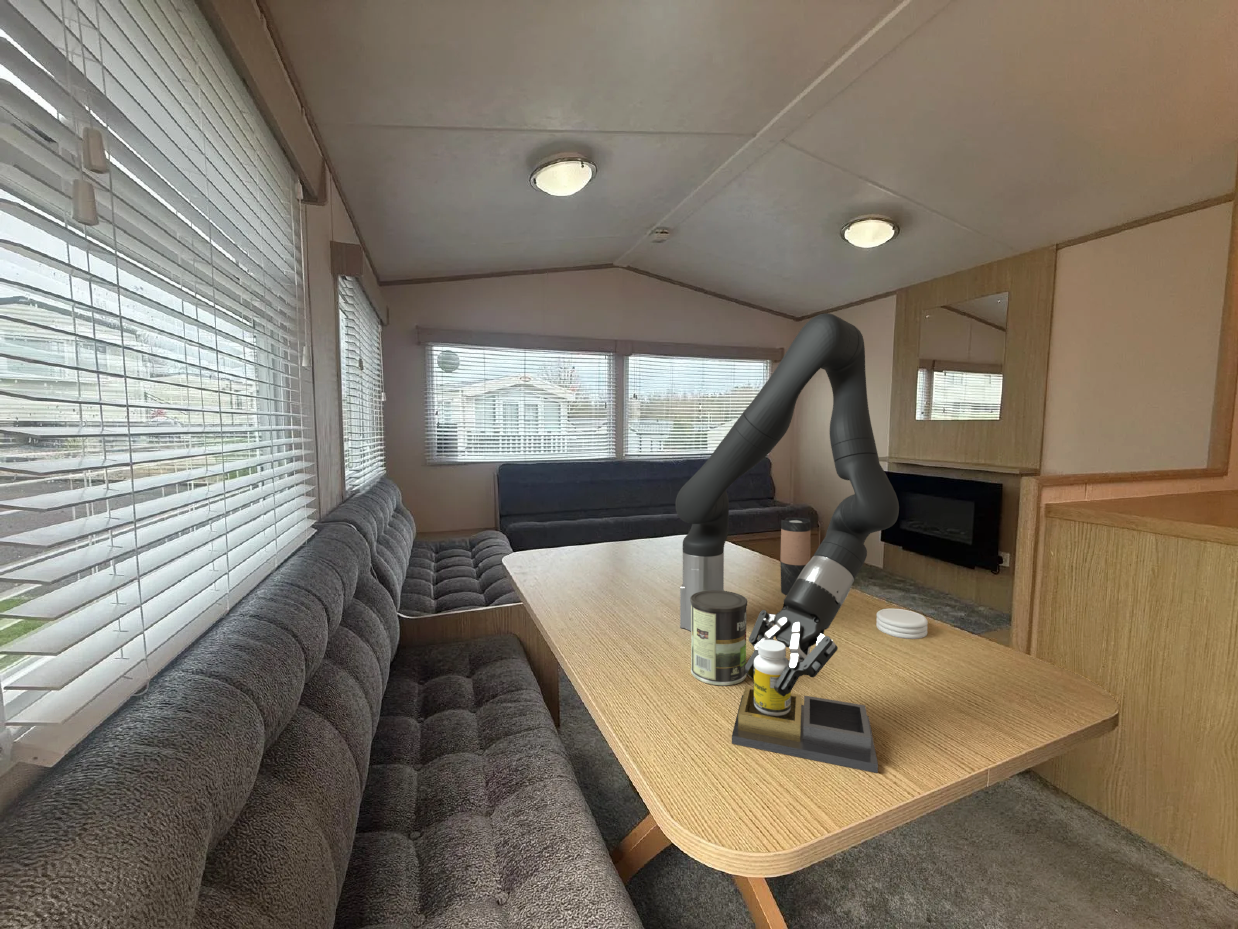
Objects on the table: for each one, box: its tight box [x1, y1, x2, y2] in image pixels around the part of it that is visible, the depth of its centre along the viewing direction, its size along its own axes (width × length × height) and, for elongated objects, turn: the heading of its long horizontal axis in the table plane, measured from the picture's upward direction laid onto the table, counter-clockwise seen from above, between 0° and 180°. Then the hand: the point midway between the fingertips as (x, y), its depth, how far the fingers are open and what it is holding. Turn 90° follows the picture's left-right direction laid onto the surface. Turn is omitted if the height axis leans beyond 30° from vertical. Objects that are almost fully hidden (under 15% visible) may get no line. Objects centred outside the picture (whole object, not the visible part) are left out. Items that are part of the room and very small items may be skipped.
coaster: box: [875, 608, 929, 640], centre depth 115 cm, size 10×10×4 cm
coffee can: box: [690, 590, 748, 686], centre depth 96 cm, size 10×10×14 cm
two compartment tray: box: [731, 685, 879, 774], centre depth 77 cm, size 19×12×4 cm, turn 70°
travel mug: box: [779, 517, 812, 596], centre depth 140 cm, size 8×8×20 cm
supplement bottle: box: [753, 639, 792, 716], centre depth 78 cm, size 5×5×10 cm
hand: (763, 683), depth 77 cm, fingers closed on supplement bottle, 5 cm apart
